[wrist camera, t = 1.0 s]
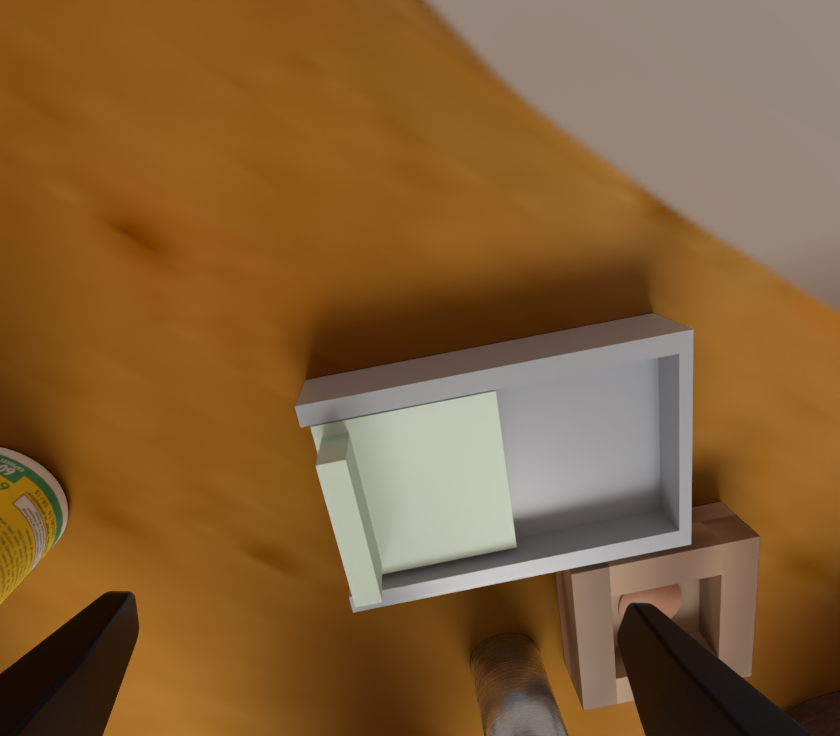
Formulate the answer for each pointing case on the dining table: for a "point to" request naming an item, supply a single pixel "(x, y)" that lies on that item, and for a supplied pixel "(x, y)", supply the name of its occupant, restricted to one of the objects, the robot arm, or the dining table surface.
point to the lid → (415, 487)
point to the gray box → (554, 443)
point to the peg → (514, 689)
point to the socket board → (663, 602)
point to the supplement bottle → (26, 517)
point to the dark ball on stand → (819, 715)
